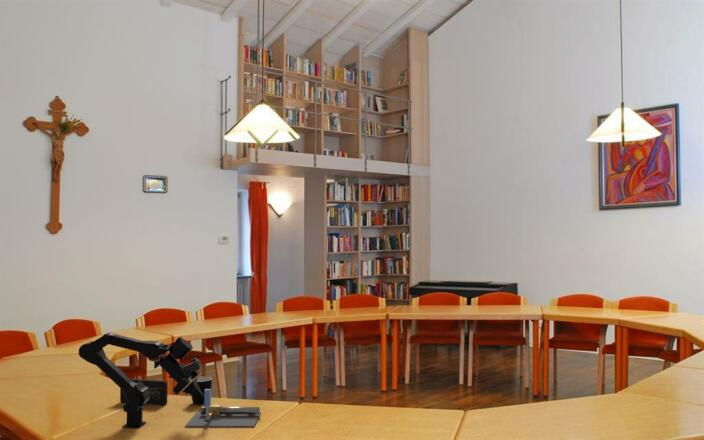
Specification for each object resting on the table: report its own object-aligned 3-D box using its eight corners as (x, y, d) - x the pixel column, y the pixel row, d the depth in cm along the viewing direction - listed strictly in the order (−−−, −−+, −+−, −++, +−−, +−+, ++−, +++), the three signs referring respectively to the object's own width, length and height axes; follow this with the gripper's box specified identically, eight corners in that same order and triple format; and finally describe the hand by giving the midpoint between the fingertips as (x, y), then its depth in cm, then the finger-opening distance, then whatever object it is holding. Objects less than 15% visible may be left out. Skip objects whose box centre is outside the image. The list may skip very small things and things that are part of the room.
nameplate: (167, 404, 264) (167, 380, 264) (165, 405, 262) (165, 381, 263) (122, 401, 268) (122, 378, 268) (120, 402, 266) (120, 379, 266)
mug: (195, 399, 271) (195, 376, 272) (214, 400, 270) (214, 377, 270) (183, 407, 259) (184, 382, 260) (204, 408, 258) (204, 383, 258)
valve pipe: (195, 423, 235) (195, 412, 236) (202, 414, 247) (202, 404, 247) (255, 423, 236) (255, 412, 236) (260, 414, 247) (260, 404, 247)
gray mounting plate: (184, 427, 232) (184, 425, 232) (196, 413, 250) (196, 412, 250) (254, 427, 232) (254, 425, 232) (261, 413, 250) (261, 412, 250)
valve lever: (204, 422, 233) (204, 390, 234) (205, 420, 235) (205, 389, 235) (209, 422, 233) (209, 390, 234) (210, 420, 235) (210, 389, 235)
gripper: (182, 357, 226) (212, 388, 225) (194, 348, 244) (222, 376, 244) (160, 379, 225) (190, 409, 225) (174, 368, 244) (202, 396, 244)
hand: (202, 397), depth 235 cm, fingers closed
